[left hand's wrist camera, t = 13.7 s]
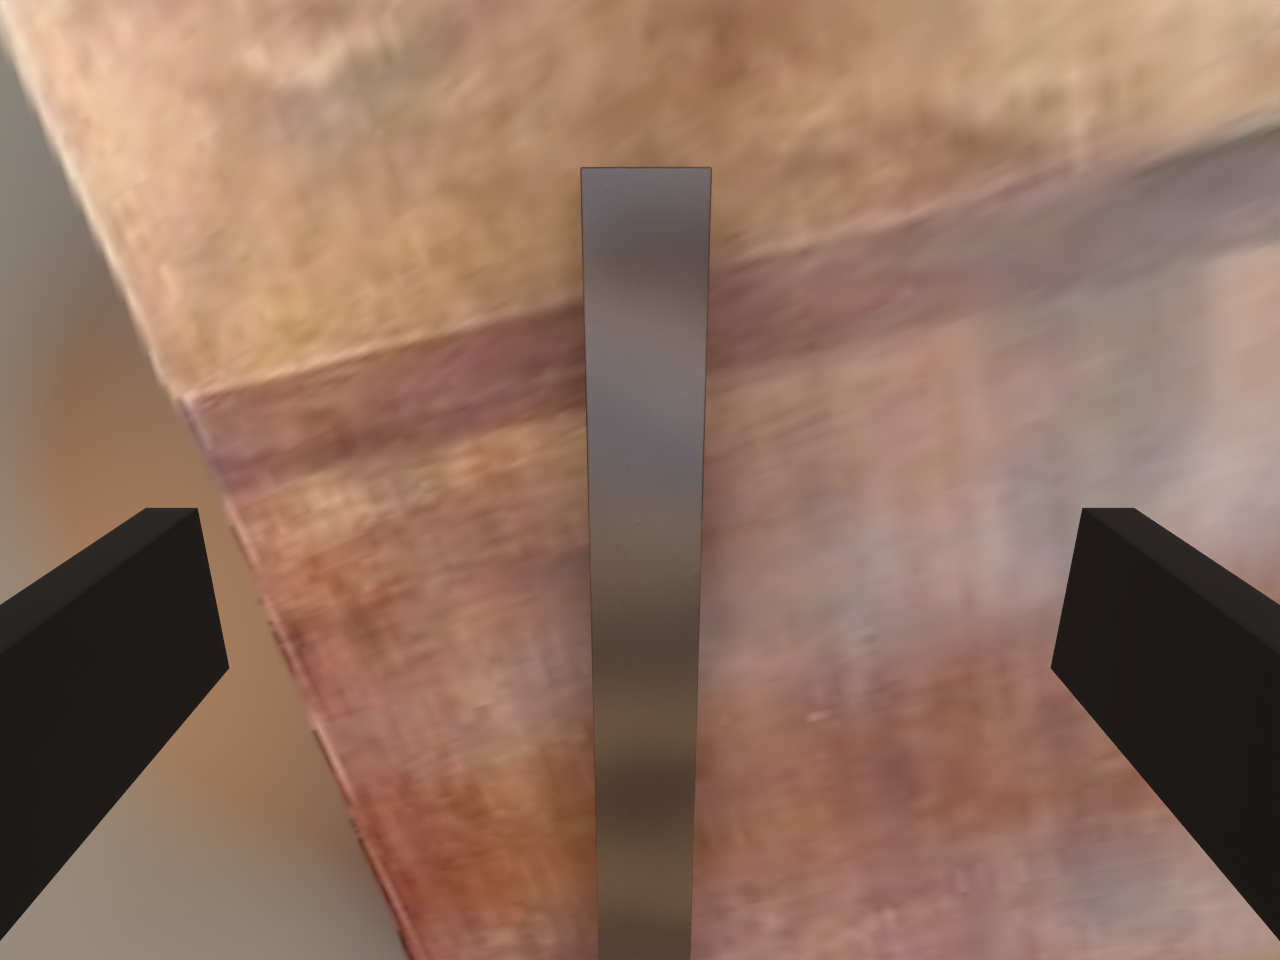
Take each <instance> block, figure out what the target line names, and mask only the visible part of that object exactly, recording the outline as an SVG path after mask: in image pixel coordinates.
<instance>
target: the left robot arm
mask: <svg viewBox="0 0 1280 960" xmlns="http://www.w3.org/2000/svg"><path fill="white" fill-rule="evenodd" d="M228 669H229V664H228V659H227V654H226V649H225V644H224V639H223V634H222V629H221V624H220V619H219V614H218V609H217V604H216V599H215V594H214V589H213V583H212V578H211V574H210V568H209V563H208V558H207V553H206V548H205V543H204V538H203V533H202V528H201V523H200V518H199V513H198V508H145V509H144V510H142V511H141V512H139V513H138V514H136V515H135V516H133V517H132V518H130V519H129V520H127V521H126V522H124V523H123V524H121V525H120V526H118V527H117V528H115V529H114V530H112V531H111V532H109V533H108V534H106V535H105V536H103V537H102V538H100V539H99V540H97V541H96V542H94V543H93V544H91V545H90V546H88V547H87V548H85V549H84V550H82V551H81V552H79V553H78V554H76V555H75V556H73V557H72V558H70V559H69V560H67V561H66V562H64V563H63V564H61V565H60V566H58V567H57V568H55V569H54V570H52V571H51V572H49V573H48V574H46V575H45V576H43V577H42V578H40V579H39V580H37V581H35V582H34V583H32V584H31V585H30V586H28V587H26V588H25V589H23V590H22V591H20V592H19V593H17V594H16V595H14V596H13V597H11V598H10V599H8V600H7V601H5V602H4V603H3V604H1V605H0V941H1V939H2V938H3V937H4V936H5V935H6V933H7V932H8V931H9V930H10V929H11V927H12V926H13V925H14V924H15V923H16V921H17V920H18V919H19V918H20V917H21V916H22V914H23V913H24V912H25V911H26V910H27V908H28V907H29V906H30V905H31V904H32V902H33V901H34V900H35V899H36V898H37V896H38V895H39V894H40V893H41V892H42V890H43V889H44V888H45V887H46V886H47V885H48V883H49V882H50V881H51V880H52V879H53V877H54V876H55V875H56V874H57V873H58V871H59V870H60V869H61V868H62V867H63V865H64V864H65V863H66V862H67V861H68V860H69V858H70V857H71V856H72V855H73V854H74V852H75V851H76V850H77V849H78V848H79V846H80V845H81V844H82V843H83V842H84V840H85V839H86V838H87V837H88V836H89V835H90V833H91V832H92V831H93V830H94V829H95V827H96V826H97V825H98V824H99V823H100V821H101V820H102V819H103V818H104V817H105V815H106V814H107V813H108V812H109V811H110V809H111V808H112V807H113V806H114V805H115V803H116V802H117V801H118V800H119V799H120V798H121V796H122V795H123V794H124V793H125V792H126V790H127V789H128V788H129V787H130V786H131V784H132V783H133V782H134V781H135V780H136V779H137V777H138V776H139V775H140V774H141V773H142V771H143V770H144V769H145V768H146V767H147V765H148V764H149V763H150V762H151V761H152V759H153V758H154V757H155V756H156V755H157V754H158V752H159V751H160V750H161V749H162V748H163V746H164V745H165V744H166V743H167V742H168V740H169V739H170V738H171V737H172V736H173V734H174V733H175V732H176V731H177V730H178V729H179V727H180V726H181V725H182V724H183V723H184V721H185V720H186V719H187V718H188V717H189V715H190V714H191V713H192V712H193V711H194V709H195V708H196V707H197V706H198V705H199V704H200V702H201V701H202V700H203V699H204V698H205V696H206V695H207V694H208V693H209V692H210V690H211V689H212V688H213V687H214V686H215V684H216V683H217V682H218V681H219V680H220V679H221V677H222V676H223V675H224V674H225V673H226V671H227V670H228ZM1051 669H1052V670H1053V671H1054V673H1055V674H1056V675H1057V676H1058V677H1059V679H1060V680H1061V681H1062V682H1063V683H1064V684H1065V686H1066V687H1067V688H1068V689H1069V690H1070V692H1071V693H1072V694H1073V695H1074V696H1075V698H1076V699H1077V700H1078V701H1079V702H1080V704H1081V705H1082V706H1083V707H1084V708H1085V709H1086V711H1087V712H1088V713H1089V714H1090V715H1091V717H1092V718H1093V719H1094V720H1095V721H1096V723H1097V724H1098V725H1099V726H1100V727H1101V729H1102V730H1103V731H1104V732H1105V733H1106V734H1107V736H1108V737H1109V738H1110V739H1111V740H1112V742H1113V743H1114V744H1115V745H1116V746H1117V748H1118V749H1119V750H1120V751H1121V752H1122V754H1123V755H1124V756H1125V757H1126V758H1127V759H1128V761H1129V762H1130V763H1131V764H1132V765H1133V767H1134V768H1135V769H1136V770H1137V771H1138V773H1139V774H1140V775H1141V776H1142V777H1143V779H1144V780H1145V781H1146V782H1147V783H1148V785H1149V786H1150V787H1151V788H1152V789H1153V790H1154V792H1155V793H1156V794H1157V795H1158V796H1159V798H1160V799H1161V800H1162V801H1163V802H1164V804H1165V805H1166V806H1167V807H1168V808H1169V810H1170V811H1171V812H1172V813H1173V814H1174V815H1175V817H1176V818H1177V819H1178V820H1179V821H1180V823H1181V824H1182V825H1183V826H1184V827H1185V829H1186V830H1187V831H1188V832H1189V833H1190V835H1191V836H1192V837H1193V838H1194V839H1195V840H1196V842H1197V843H1198V844H1199V845H1200V846H1201V848H1202V849H1203V850H1204V851H1205V852H1206V854H1207V855H1208V856H1209V857H1210V858H1211V860H1212V861H1213V862H1214V863H1215V864H1216V865H1217V867H1218V868H1219V869H1220V870H1221V871H1222V873H1223V874H1224V875H1225V876H1226V877H1227V879H1228V880H1229V881H1230V882H1231V883H1232V885H1233V886H1234V887H1235V888H1236V889H1237V890H1238V892H1239V893H1240V894H1241V895H1242V896H1243V898H1244V899H1245V900H1246V901H1247V902H1248V904H1249V905H1250V906H1251V907H1252V908H1253V910H1254V911H1255V912H1256V913H1257V914H1258V916H1259V917H1260V918H1261V919H1262V920H1263V921H1264V923H1265V924H1266V925H1267V926H1268V927H1269V929H1270V930H1271V931H1272V932H1273V933H1274V935H1275V936H1276V937H1277V938H1278V939H1279V941H1280V605H1279V604H1278V603H1276V602H1275V601H1273V600H1272V599H1270V598H1269V597H1267V596H1266V595H1264V594H1263V593H1261V592H1260V591H1258V590H1257V589H1255V588H1254V587H1252V586H1251V585H1249V584H1248V583H1246V582H1244V581H1243V580H1241V579H1240V578H1238V577H1237V576H1235V575H1234V574H1232V573H1231V572H1229V571H1228V570H1226V569H1225V568H1223V567H1222V566H1220V565H1219V564H1217V563H1216V562H1214V561H1213V560H1211V559H1210V558H1208V557H1207V556H1205V555H1204V554H1202V553H1201V552H1199V551H1198V550H1196V549H1195V548H1193V547H1192V546H1190V545H1189V544H1187V543H1186V542H1184V541H1183V540H1181V539H1180V538H1178V537H1177V536H1175V535H1174V534H1172V533H1171V532H1169V531H1168V530H1166V529H1165V528H1163V527H1162V526H1160V525H1159V524H1157V523H1156V522H1154V521H1153V520H1151V519H1150V518H1148V517H1147V516H1145V515H1144V514H1142V513H1141V512H1139V511H1138V510H1136V509H1135V508H1082V513H1081V518H1080V523H1079V528H1078V533H1077V538H1076V543H1075V548H1074V553H1073V558H1072V563H1071V568H1070V573H1069V578H1068V583H1067V589H1066V594H1065V599H1064V604H1063V609H1062V614H1061V619H1060V624H1059V629H1058V634H1057V639H1056V644H1055V649H1054V654H1053V659H1052V664H1051Z"/></svg>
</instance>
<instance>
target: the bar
mask: <svg viewBox="0 0 1280 960" xmlns="http://www.w3.org/2000/svg"><path fill="white" fill-rule="evenodd" d="M580 175H581V217H582V259H583V301H584V343H585V385H586V427H587V469H588V511H589V553H590V595H591V637H592V679H593V721H594V763H595V805H596V847H597V889H598V931H599V960H690V947H691V910H692V874H693V837H694V801H695V764H696V728H697V691H698V655H699V618H700V582H701V545H702V509H703V472H704V436H705V399H706V363H707V326H708V290H709V253H710V217H711V180H712V168H711V167H581V169H580Z"/></svg>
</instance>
